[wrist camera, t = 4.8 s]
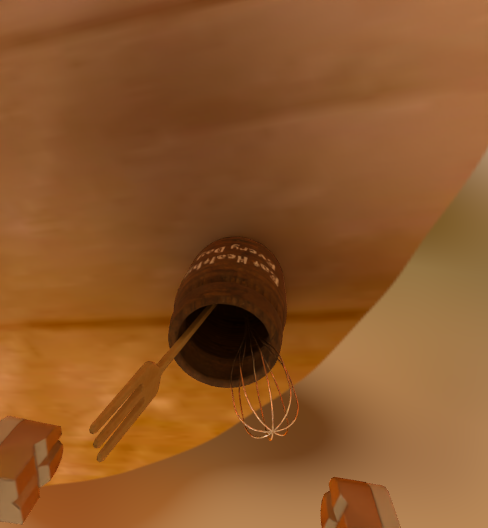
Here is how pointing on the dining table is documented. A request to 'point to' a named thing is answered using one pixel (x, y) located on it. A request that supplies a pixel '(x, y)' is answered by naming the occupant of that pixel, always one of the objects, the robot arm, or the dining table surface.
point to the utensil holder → (214, 332)
